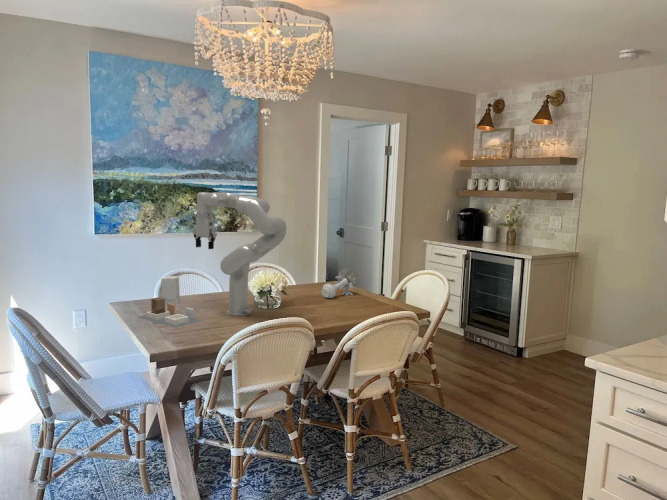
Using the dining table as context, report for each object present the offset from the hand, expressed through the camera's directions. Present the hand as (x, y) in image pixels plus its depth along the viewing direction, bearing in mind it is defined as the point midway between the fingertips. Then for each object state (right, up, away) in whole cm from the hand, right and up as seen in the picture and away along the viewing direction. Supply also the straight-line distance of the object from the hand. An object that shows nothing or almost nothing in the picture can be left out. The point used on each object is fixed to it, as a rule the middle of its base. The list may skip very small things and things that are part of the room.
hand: (204, 248), depth 264 cm
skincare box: (-22, -32, +12) cm, 40 cm away
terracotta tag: (-14, -34, -10) cm, 38 cm away
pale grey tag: (-3, -35, -18) cm, 39 cm away
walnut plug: (-19, -34, -17) cm, 42 cm away
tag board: (-12, -36, -19) cm, 42 cm away
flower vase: (+72, -30, +45) cm, 90 cm away
